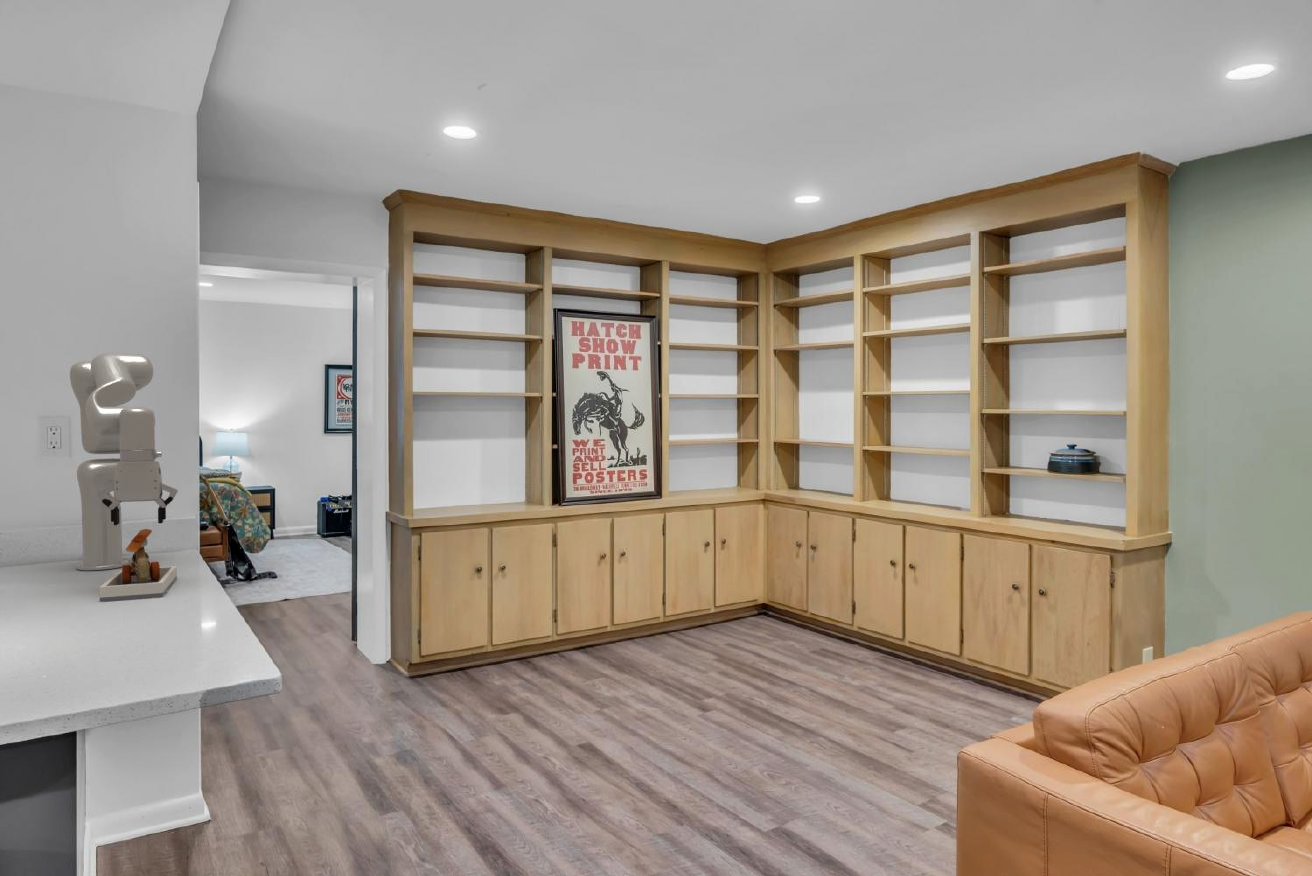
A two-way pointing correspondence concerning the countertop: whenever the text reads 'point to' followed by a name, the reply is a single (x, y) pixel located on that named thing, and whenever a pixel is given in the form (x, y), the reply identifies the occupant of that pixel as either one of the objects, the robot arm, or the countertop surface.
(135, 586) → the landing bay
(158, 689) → the countertop surface
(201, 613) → the countertop surface
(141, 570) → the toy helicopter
